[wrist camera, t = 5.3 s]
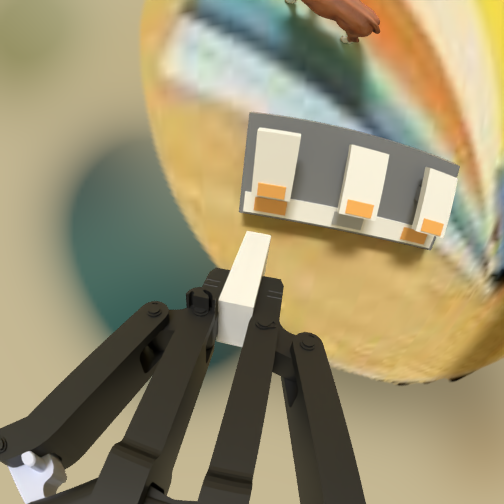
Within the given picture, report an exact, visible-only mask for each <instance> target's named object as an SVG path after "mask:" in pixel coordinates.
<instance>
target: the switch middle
mask: <svg viewBox="0 0 504 504" xmlns="http://www.w3.org/2000/svg"><path fill="white" fill-rule="evenodd" d="M388 160H389V154H386V153H382V152H379V151H375V150H371V149H368V148H364V147H360V146H356V145H349V151H348V157H347V162H346V168H345V173H344V179H343V184H342V189H341V194H340V199H339V204H338V209H337V211H338V213H339V214H344V215H349V216H354V217H358V218H363V219H367V220H372V221H376V217H377V213H378V209H379V204H380V200H381V195H382V191H383V186H384V181H385V176H386V171H387V165H388Z"/></svg>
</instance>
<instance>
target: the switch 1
mask: <svg viewBox="0 0 504 504" xmlns="http://www.w3.org/2000/svg"><path fill="white" fill-rule="evenodd" d="M300 140H301V134H300V133H294V132H288V131H282V130H275V129H268V128H261V127H259V129H258V130H257V140H256V150H255V160H254V171H253V181H252V192H251V195H253V196H259V197H265V198H271V199H277V200H283V201H288V202H290V198H291V192H292V187H293V181H294V175H295V169H296V164H297V158H298V152H299V146H300Z"/></svg>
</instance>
